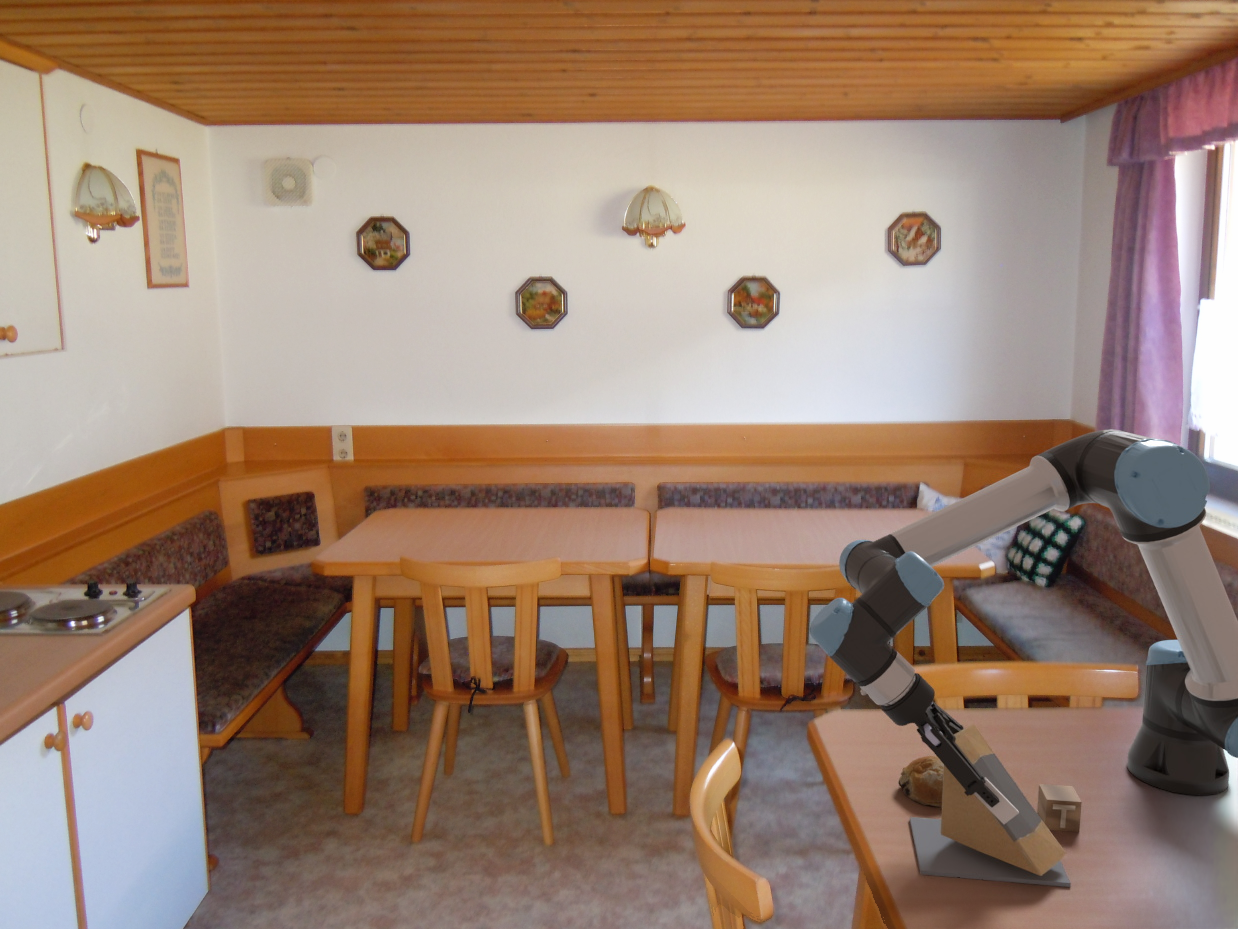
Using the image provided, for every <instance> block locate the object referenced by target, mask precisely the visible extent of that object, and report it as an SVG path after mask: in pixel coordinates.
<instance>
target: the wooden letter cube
mask: <svg viewBox="0 0 1238 929" xmlns="http://www.w3.org/2000/svg"><path fill="white" fill-rule="evenodd" d="M1037 796H1038V797H1037V809H1036V812H1037V814H1038V815H1039V817H1040V818H1041V819H1042V821H1043V822H1044V823H1045V825H1046V826H1047V828H1048V829H1049V830H1050V831H1060V832H1075V833H1076V832H1077V833H1079V832H1080V828H1081V817H1082V816H1081V815H1082V803H1083V802H1082V800H1081V798H1080V796H1079V795H1078V793H1077V791H1076V789H1075V788H1074V786H1072V785H1061V784H1059V785H1058V784H1046V783H1045V784H1043V783H1039V784H1038V794H1037Z"/></svg>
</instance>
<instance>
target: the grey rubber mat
mask: <svg viewBox="0 0 1238 929" xmlns="http://www.w3.org/2000/svg"><path fill="white" fill-rule="evenodd" d="M909 824H910V829H911V834H912V839H913V842H914V847H915V848H914V849H915V853H916V859H917V863H918V868H919V873H920V875H922V876H923V875H925V876H935V877H947V878H957V877H960V878H959V879H969V880H970V879H972V880H982V879H983V880H985V881H996V882H1007V883H1018V884H1019V883H1020V884H1030V885H1041V886H1053V887H1055V886H1056V887H1064V888H1065V887H1067V888H1071V885H1072V884H1071V883H1072V882H1071V881H1070V878H1069V876H1068V874H1067V871H1066V870H1065V867H1064V865H1063V863H1062V860H1060V861H1059V862H1058V863H1057V864H1056V865H1055V866H1053V867H1052V868H1051V869H1050V870H1048V871H1047V872H1046V873H1044V874H1043V875H1042V876H1040V875H1037V874H1035V873H1032V872H1030V871H1027V870H1025V869H1022V868H1020V867H1017V866H1015V865H1012V864H1010V863H1007V862H1005V861H1002V860H1000V859H997V858H995V857H992V856H990V855H987V854H985V853H982V852H980V851H978V850H975V849H973V848H971V847H968V846H966V845H964V844H962V843H959V842H957V841H955V840H952V839H950V838H948V837H945V836H943V835H941V818H929V817H915V816H914V817H913V816H910V817H909Z"/></svg>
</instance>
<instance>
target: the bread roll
mask: <svg viewBox="0 0 1238 929" xmlns="http://www.w3.org/2000/svg"><path fill="white" fill-rule="evenodd" d="M943 771H944V764H943V763H942V762H941V760H940V759H939V758H938V757H937V756H936V755H927V756H923V757H918V758H916V759H914V760H912V761H911V762H910V763H908V765H906V766H905V767H903V768H902V771H901V773H900V777H899V779H898V786H899V787H900V789H901V788H902V790H903V793H904V794H905V795H906V796H907V797H908V798H909V799H911V800H912V801H915V802H917V803H920V804H921V805H923V806H932V807H937V808H939V807H940V808H942V793H943Z"/></svg>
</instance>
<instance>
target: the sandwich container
mask: <svg viewBox="0 0 1238 929" xmlns="http://www.w3.org/2000/svg"><path fill="white" fill-rule="evenodd" d="M954 736H955V737H956V740H955V742H956V744H957V745H958V746H959V748H960V749H961V750H962V751H963V753H964V754H965V755H966V757H967V758H968V759H969V760H970V762H971V763H972V764H973V765H974V767H975V768H976V769H977V771H978V772H979V773H980V774H981V776H983V777H984V778H985V777H986V778H987V779H988V780H989V781H990V782H991V783H992V784H993V785H994V786H995V787H996V788H997V789H998V790H999V791H1000V792H1001V793H1002V794H1003V795H1004V797H1005V798H1006V799H1007V800H1008V801H1009V802H1010V803H1011V804H1012V805H1013V806H1014V807H1015V808H1016V809H1017V810H1018V811H1019V814H1017V815H1016V816H1015V817H1013V818H1012V819H1011V820H1009V821H1008V822H1007V823H1005V824H1003V823H1002V822H1001V821H1000V820H999V819H998V818H997V817H996V816H995V815H994V814H993V813H992V812H991V811H990V810H989V809H988V808H987V807H986V806H985V805H984V804H983V803H982V802H981V801H980V800H979V799H978V798H977V797H976V796H975V795H974V794H973V795H969V796H967V795H966V794H965V793H964V792H965V791H966V790H965V789H964V788H963V786H962V785H961V784H960V783H959V782H958V781H957V779H956V778H955V777H954V776H953V775H952V773H951V772H950V771H949V770H948V769H947V767H946V766H945V765H944V771H943V793H942V807H941V816H940V817H941V818H940V819H941V835H943V836H945V837H948V838H950V839H952V840H955V841H957V842H959V843H962V844H964V845H966V846H968V847H971V848H973V849H975V850H978V851H980V852H982V853H985V854H987V855H990V856H992V857H995V858H997V859H1000V860H1002V861H1005V862H1007V863H1010V864H1012V865H1015V866H1017V867H1020V868H1022V869H1025V870H1027V871H1030V872H1032V873H1035V874H1037V875H1040V876H1042V875H1043V874H1044V873H1046V872H1047V871H1048V870H1050V869H1051V868H1052V867H1053V866H1055V865H1056V864H1057V863H1058V862H1059V861H1060V860H1061V859H1063V858H1064V856H1066V855H1067V852H1066V851H1065V849H1064V848H1063V847H1062V845H1061V844H1060V842H1059V841H1058V840H1057V839H1056V837H1055V835H1053V833H1052V832H1051V830H1049V829H1048V828H1047V826H1046V825H1045V823H1044V822H1043V821H1042V819H1041V818H1040V817H1039V815H1038V814H1037V810H1035V809H1034V806H1032V804H1031V803H1030V802H1029V800H1028V798H1027V797H1026V796H1025V794H1024V793H1023V792H1022V790H1021V789H1020V786H1018V785H1017V783H1016V781H1015V780H1014V779H1013V777H1012V776H1011V775H1010V773H1009V772H1008V771H1007V769H1006V768H1005V766H1004V765H1003V763H1002V762H1001V761H1000V759H999V758H998V756H997V755H996V753H995V752H994V750H993V749H992V747H991V746H990V744H989V743H988V741H987V740H986V739H985V737H984V736H983V734H982V732H981V731H980V730H979V728H978V727H977V725H976V724H975V723H972V724H970V725H968V726H967V727H965V728H964V729H963V730H961V731H960V732H958V733H956V734H954ZM1061 861H1062V860H1061Z"/></svg>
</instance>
